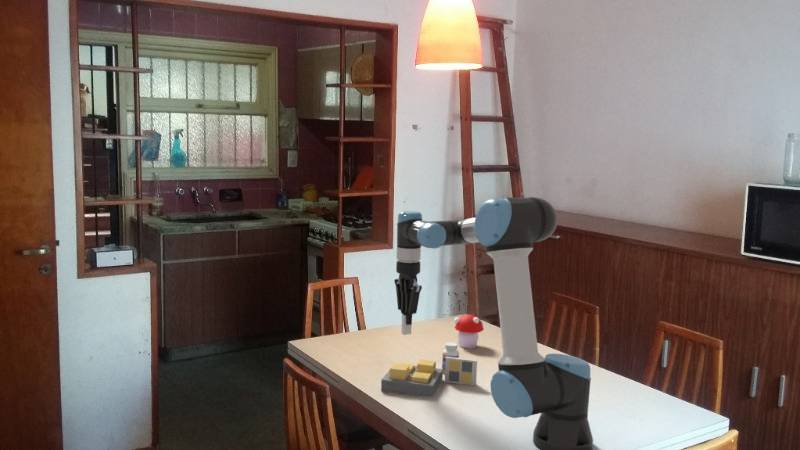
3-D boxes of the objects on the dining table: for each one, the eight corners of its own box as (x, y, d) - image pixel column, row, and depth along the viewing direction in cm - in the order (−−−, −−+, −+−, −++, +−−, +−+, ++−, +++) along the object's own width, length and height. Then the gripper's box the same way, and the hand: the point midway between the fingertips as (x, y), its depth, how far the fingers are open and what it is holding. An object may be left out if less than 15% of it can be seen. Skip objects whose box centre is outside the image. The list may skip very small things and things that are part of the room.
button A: (427, 391, 219) (427, 378, 218) (411, 389, 220) (411, 377, 219) (430, 386, 224) (431, 373, 223) (415, 384, 225) (415, 371, 224)
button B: (405, 382, 220) (405, 370, 220) (389, 381, 221) (389, 368, 221) (409, 377, 225) (409, 365, 224) (393, 375, 226) (393, 363, 226)
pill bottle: (439, 373, 238) (440, 344, 237) (445, 368, 243) (447, 340, 242) (454, 376, 236) (455, 347, 234) (460, 371, 240) (461, 343, 239)
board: (432, 397, 216) (432, 385, 216) (381, 390, 220) (381, 379, 220) (442, 379, 232) (442, 369, 231) (394, 374, 236) (394, 363, 235)
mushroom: (448, 343, 272) (449, 312, 271) (473, 340, 277) (474, 309, 275) (462, 351, 263) (463, 319, 261) (488, 348, 267) (489, 316, 266)
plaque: (475, 385, 227) (476, 361, 226) (444, 382, 230) (445, 357, 229) (476, 384, 229) (477, 360, 228) (445, 380, 231) (446, 356, 230)
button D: (410, 381, 227) (410, 369, 227) (395, 379, 228) (395, 367, 228) (413, 376, 232) (414, 364, 231) (398, 374, 233) (399, 362, 233)
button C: (432, 378, 225) (432, 365, 225) (416, 376, 226) (417, 364, 226) (435, 373, 230) (435, 361, 229) (420, 371, 231) (420, 359, 231)
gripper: (429, 263, 221) (427, 337, 224) (407, 256, 233) (405, 327, 235) (409, 264, 218) (406, 340, 221) (387, 258, 229) (386, 330, 232)
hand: (406, 333), depth 228 cm, fingers closed
